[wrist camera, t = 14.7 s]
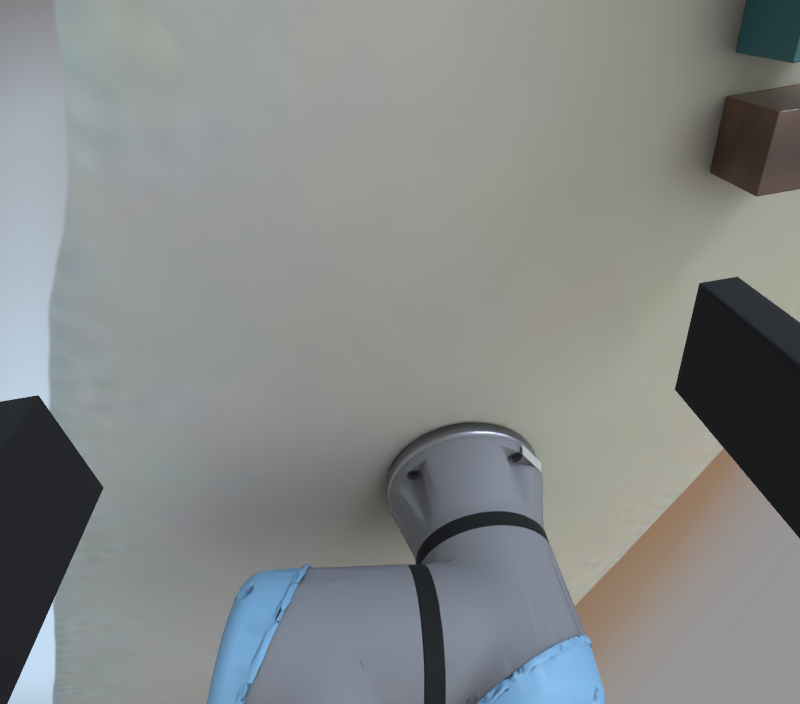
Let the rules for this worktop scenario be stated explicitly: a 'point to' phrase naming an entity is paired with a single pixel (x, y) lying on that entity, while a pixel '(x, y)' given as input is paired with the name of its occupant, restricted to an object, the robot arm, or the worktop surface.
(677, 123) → the worktop surface
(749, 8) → the block
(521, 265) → the worktop surface
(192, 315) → the worktop surface
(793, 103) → the block
